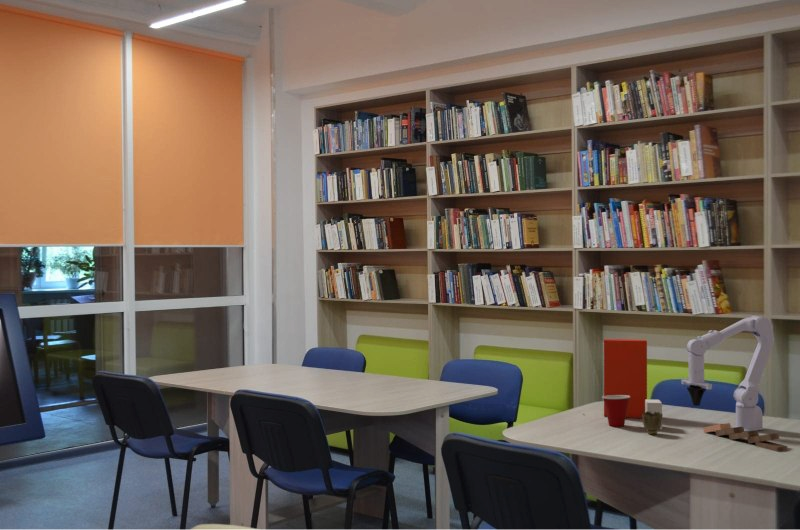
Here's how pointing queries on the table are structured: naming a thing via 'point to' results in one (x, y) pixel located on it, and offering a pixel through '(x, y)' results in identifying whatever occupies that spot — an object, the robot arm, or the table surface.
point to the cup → (652, 422)
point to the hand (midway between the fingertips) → (696, 405)
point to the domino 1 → (716, 427)
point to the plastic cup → (616, 409)
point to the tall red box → (626, 373)
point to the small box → (653, 407)
